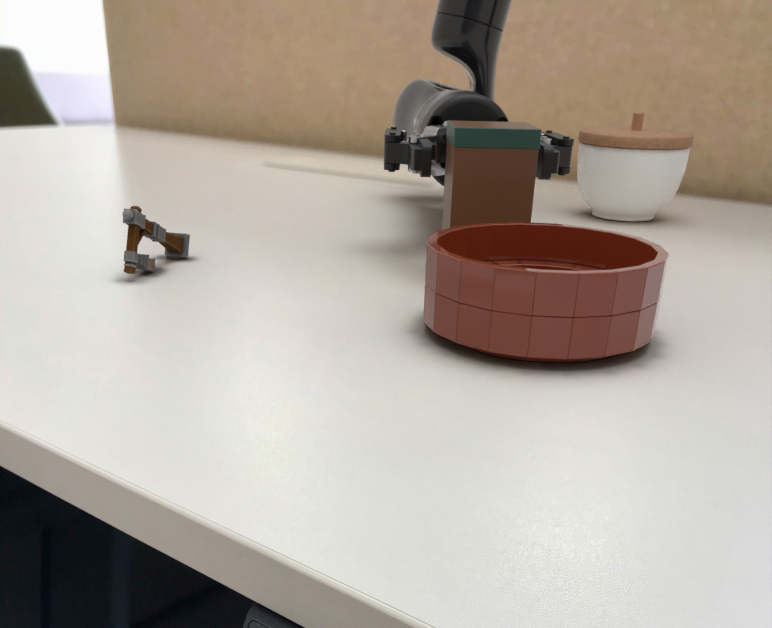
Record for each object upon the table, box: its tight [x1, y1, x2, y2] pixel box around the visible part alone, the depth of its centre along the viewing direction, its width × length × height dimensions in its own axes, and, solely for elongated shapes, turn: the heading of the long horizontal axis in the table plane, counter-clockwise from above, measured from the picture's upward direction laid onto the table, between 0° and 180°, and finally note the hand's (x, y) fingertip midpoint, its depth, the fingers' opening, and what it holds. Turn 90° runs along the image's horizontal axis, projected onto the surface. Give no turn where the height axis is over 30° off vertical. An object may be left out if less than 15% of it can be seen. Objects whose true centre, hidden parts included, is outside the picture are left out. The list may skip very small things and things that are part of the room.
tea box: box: [441, 120, 543, 230], centre depth 57 cm, size 6×6×10 cm
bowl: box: [422, 222, 670, 363], centre depth 47 cm, size 13×13×5 cm
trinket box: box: [576, 112, 694, 222], centre depth 80 cm, size 11×11×9 cm
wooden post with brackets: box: [122, 205, 191, 275], centre depth 59 cm, size 2×8×4 cm, turn 167°
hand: (487, 162), depth 57 cm, fingers open, 8 cm apart
